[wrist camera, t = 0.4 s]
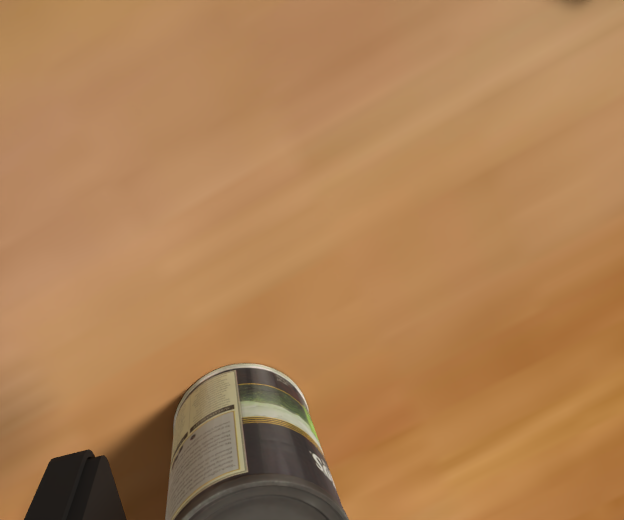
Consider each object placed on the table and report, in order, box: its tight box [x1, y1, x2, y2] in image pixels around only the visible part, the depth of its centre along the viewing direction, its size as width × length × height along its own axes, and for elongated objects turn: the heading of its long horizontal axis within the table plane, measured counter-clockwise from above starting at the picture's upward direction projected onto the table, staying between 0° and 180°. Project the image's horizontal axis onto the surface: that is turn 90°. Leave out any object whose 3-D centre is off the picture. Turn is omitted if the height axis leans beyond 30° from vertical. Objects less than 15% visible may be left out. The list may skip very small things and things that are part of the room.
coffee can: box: [165, 363, 349, 520], centre depth 35 cm, size 10×10×14 cm
